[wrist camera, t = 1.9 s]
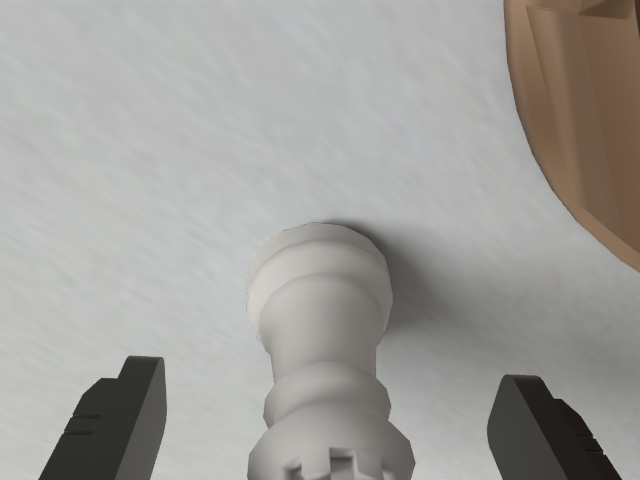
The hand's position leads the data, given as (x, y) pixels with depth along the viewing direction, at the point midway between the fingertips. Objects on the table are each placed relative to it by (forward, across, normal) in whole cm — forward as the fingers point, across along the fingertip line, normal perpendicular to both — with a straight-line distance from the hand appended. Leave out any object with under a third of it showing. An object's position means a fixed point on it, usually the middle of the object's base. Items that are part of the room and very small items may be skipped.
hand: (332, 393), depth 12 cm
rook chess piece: (+5, 0, 0) cm, 5 cm away
